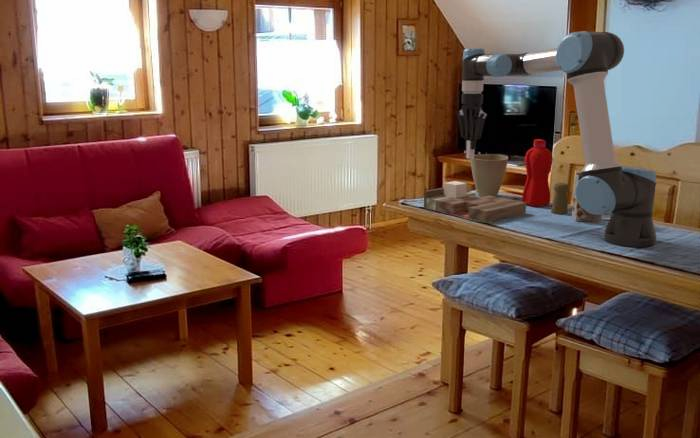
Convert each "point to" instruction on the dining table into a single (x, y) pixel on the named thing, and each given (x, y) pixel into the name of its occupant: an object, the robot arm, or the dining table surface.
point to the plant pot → (488, 173)
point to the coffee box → (578, 211)
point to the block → (455, 189)
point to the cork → (560, 199)
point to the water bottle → (537, 175)
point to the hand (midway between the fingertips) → (470, 158)
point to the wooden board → (473, 206)
